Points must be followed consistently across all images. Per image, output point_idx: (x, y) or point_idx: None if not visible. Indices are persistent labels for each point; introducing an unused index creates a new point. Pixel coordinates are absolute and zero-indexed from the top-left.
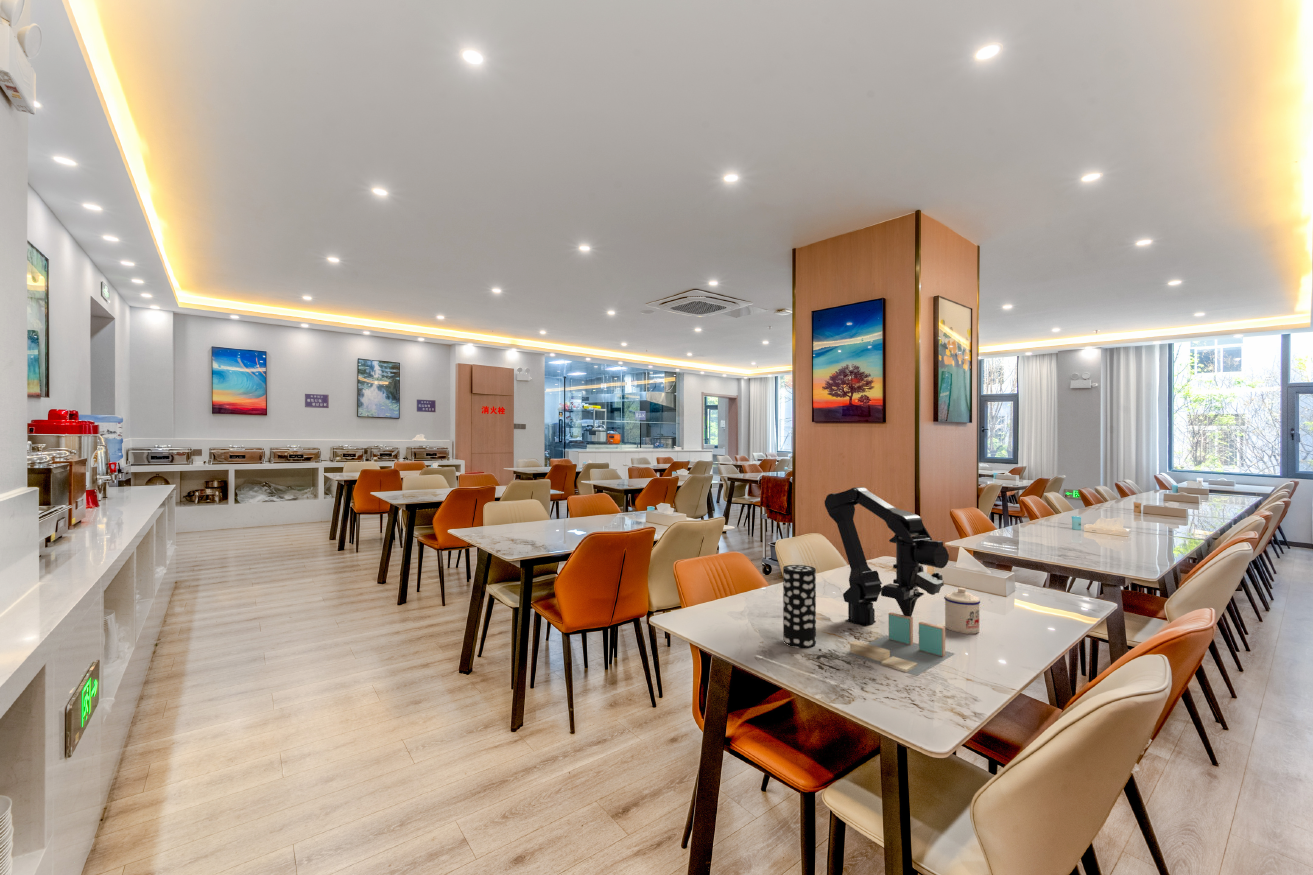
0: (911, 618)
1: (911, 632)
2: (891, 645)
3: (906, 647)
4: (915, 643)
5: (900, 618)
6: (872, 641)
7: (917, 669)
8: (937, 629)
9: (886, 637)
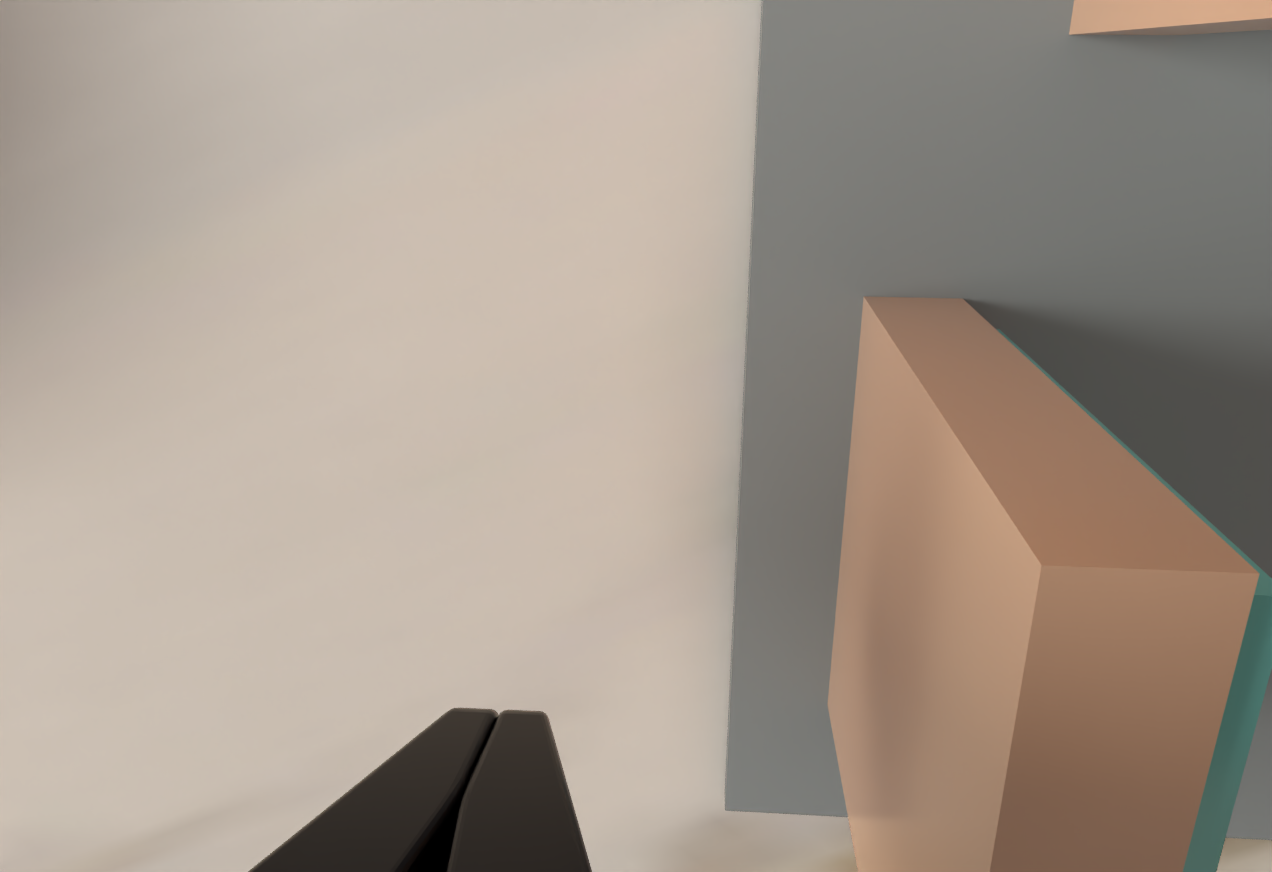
0: (1162, 557)
1: (1001, 374)
2: (1243, 543)
3: (1166, 300)
4: (780, 279)
5: (1202, 853)
6: (1237, 834)
7: None
8: None
9: (838, 766)
